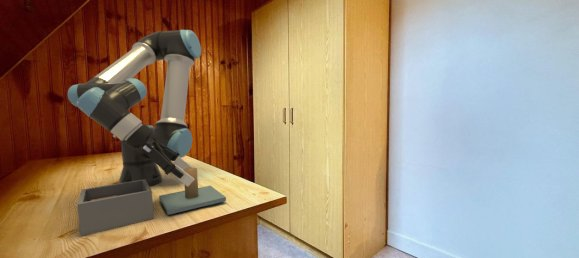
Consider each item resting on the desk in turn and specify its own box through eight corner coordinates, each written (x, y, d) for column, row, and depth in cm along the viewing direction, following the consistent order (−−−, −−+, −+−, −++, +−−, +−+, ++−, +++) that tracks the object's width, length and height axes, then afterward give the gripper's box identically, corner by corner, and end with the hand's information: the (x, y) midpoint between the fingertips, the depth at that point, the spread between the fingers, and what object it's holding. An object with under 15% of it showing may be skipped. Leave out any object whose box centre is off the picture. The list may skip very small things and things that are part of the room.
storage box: (84, 216, 75) (81, 189, 74) (147, 203, 84) (145, 179, 83) (80, 236, 64) (77, 204, 63) (153, 218, 73) (151, 190, 72)
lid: (159, 202, 86) (157, 168, 85) (210, 191, 96) (209, 161, 94) (168, 218, 74) (165, 179, 73) (226, 203, 83) (224, 169, 82)
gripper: (132, 136, 88) (183, 175, 94) (111, 149, 64) (181, 199, 71) (149, 120, 89) (198, 159, 96) (135, 126, 66) (200, 178, 72)
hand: (191, 176), depth 83 cm, fingers open, 13 cm apart
